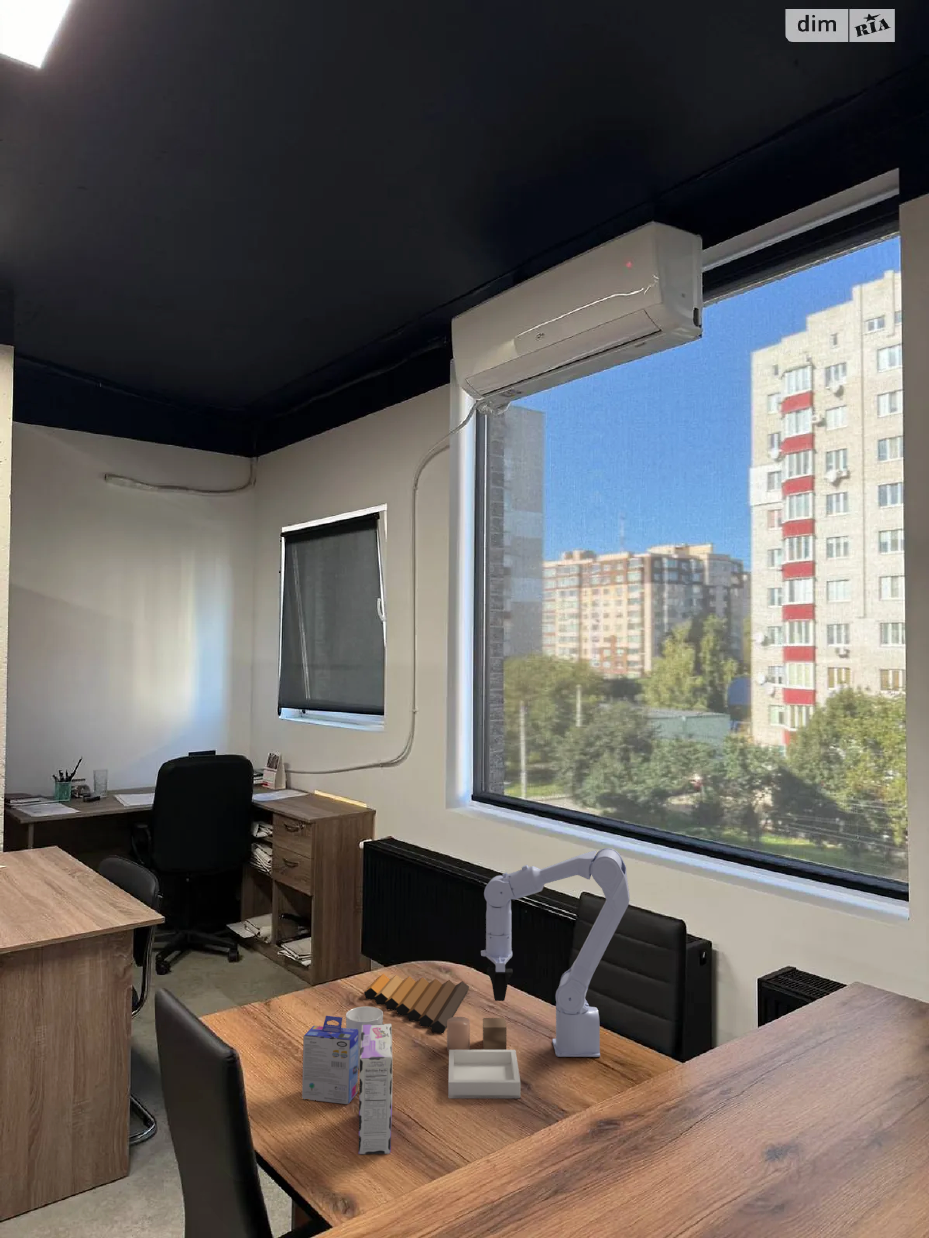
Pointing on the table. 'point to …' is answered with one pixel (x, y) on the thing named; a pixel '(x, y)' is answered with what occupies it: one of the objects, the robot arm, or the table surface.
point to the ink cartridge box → (330, 1063)
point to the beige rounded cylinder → (458, 1033)
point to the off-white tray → (483, 1074)
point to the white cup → (363, 1020)
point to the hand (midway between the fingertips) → (498, 993)
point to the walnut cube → (494, 1034)
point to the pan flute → (419, 999)
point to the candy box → (375, 1089)
